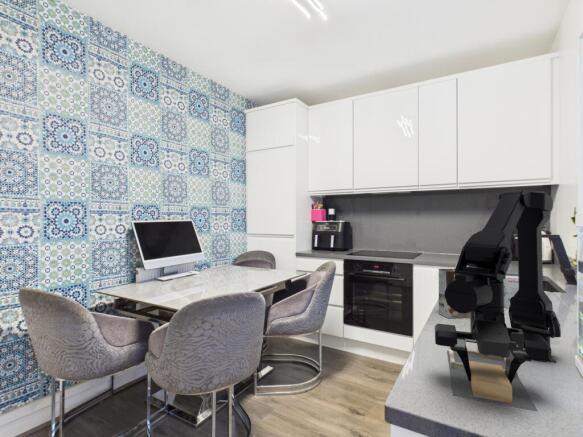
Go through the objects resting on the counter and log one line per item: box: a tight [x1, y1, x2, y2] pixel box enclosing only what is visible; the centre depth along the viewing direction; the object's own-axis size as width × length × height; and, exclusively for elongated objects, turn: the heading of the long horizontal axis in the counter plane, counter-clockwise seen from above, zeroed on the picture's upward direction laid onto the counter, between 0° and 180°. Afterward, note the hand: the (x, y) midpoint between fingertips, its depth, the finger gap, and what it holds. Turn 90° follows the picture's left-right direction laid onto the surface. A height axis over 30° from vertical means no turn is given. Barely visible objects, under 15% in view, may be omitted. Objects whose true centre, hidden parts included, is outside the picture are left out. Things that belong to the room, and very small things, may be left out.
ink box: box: [503, 275, 519, 310], centre depth 117 cm, size 9×5×12 cm, turn 67°
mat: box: [446, 350, 539, 412], centre depth 66 cm, size 22×13×1 cm, turn 156°
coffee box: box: [438, 268, 470, 319], centre depth 109 cm, size 9×6×16 cm
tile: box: [469, 361, 512, 404], centre depth 61 cm, size 9×6×3 cm, turn 156°
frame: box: [448, 347, 518, 378], centre depth 71 cm, size 9×12×1 cm
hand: (488, 383), depth 61 cm, fingers closed on tile, 6 cm apart
